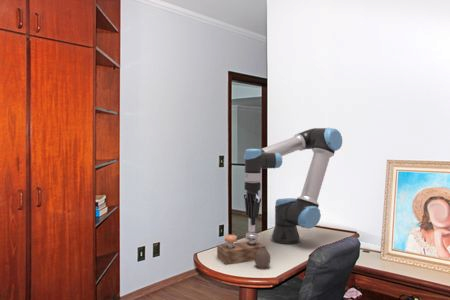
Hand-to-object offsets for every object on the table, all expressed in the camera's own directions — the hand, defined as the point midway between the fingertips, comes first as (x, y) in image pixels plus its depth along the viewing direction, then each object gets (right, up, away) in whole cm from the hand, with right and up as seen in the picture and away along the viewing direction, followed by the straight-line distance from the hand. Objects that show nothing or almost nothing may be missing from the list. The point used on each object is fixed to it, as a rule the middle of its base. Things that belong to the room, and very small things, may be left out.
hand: (251, 231), depth 171 cm
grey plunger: (0, -8, 0) cm, 8 cm away
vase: (+4, -13, -12) cm, 18 cm away
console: (-5, -12, -2) cm, 13 cm away
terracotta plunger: (-10, -8, -4) cm, 13 cm away
